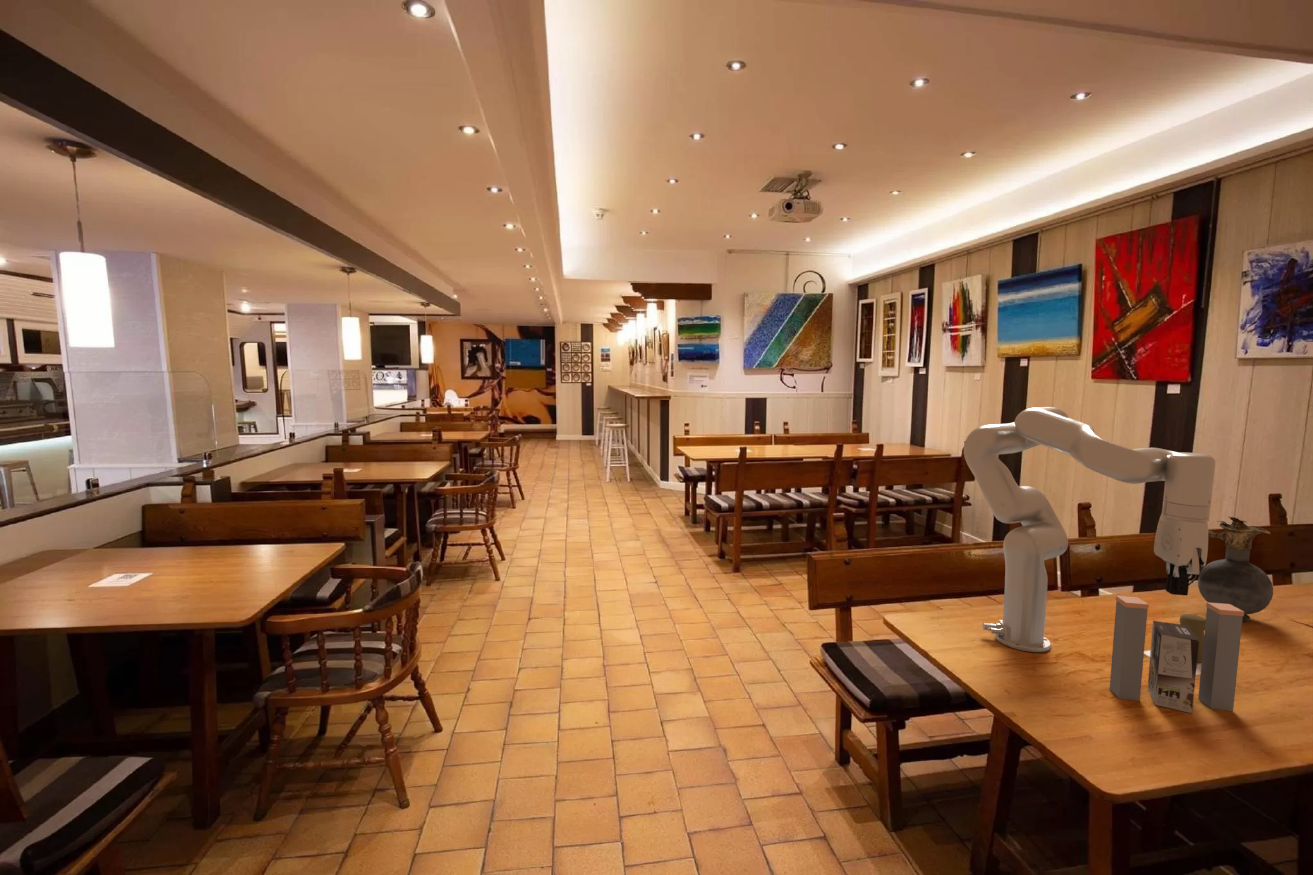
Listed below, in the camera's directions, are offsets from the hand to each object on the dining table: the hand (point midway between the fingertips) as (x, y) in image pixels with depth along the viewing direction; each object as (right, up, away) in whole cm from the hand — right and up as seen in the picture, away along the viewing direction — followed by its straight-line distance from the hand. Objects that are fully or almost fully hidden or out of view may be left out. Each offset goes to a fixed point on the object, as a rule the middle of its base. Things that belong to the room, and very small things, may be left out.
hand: (1176, 593), depth 126 cm
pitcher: (+57, -19, +48) cm, 77 cm away
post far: (+9, -24, 0) cm, 26 cm away
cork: (+23, -22, +21) cm, 38 cm away
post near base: (-8, -24, +4) cm, 25 cm away
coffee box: (0, -24, +2) cm, 24 cm away
